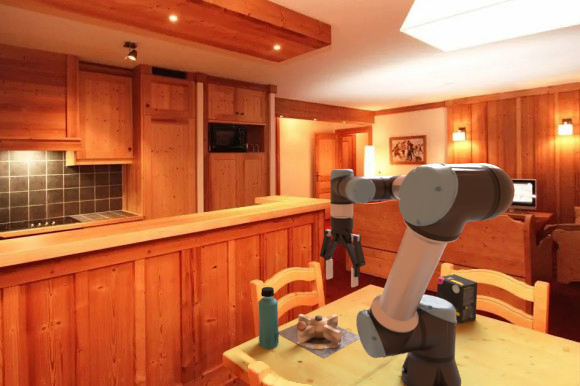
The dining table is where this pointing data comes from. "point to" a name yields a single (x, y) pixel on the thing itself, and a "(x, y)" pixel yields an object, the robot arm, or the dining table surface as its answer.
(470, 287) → the tampon box
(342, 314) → the dining table surface
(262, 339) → the beverage bottle
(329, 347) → the stand
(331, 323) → the capstan
